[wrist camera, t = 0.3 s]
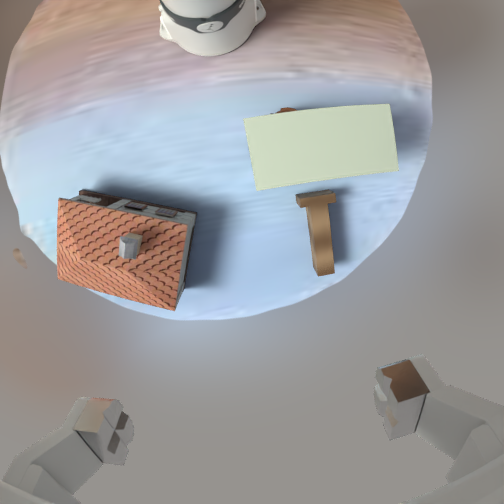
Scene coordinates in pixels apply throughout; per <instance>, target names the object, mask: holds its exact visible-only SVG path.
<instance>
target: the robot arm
mask: <svg viewBox="0 0 504 504" xmlns="http://www.w3.org/2000/svg"><path fill="white" fill-rule="evenodd" d="M160 3H161V4H160V5H159V11H160V12H161V11H162V13H161V17H160V20H161V23H160V36H161V37H162V38H163V39H165V40H169V41H173V42H175V43H177V44H178V45H179V46H181V47H182V48H183V49H185V50H186V51H188V52H190V53H192V54H196V55H200V56H217V55H222V54H225V53H228V52H230V51H232V50H234V49H236V48H238V47H239V46H240V45H242V44H243V43H244V42H245V41H246V40H247V38H248V37H249V35H250V34H251V32H252V30H253V28H254V27H255V25H257V24H258V23H260V22H261V21H262V20H263V19H264V18H265V17H266V11H265V9H264V7H263V5H262V3H261V1H260V0H160ZM257 8H259V9H258V10H257ZM376 380H377V382H378V384H377V385H376V386H375V387H374V400H375V405H376V409H377V411H378V414H379V415H381V416H382V417H384V423H383V426H384V428H385V431H386V433H387V435H388V438H389V440H393V439H396V438H399V437H403V436H406V435H408V434H412V433H415V434H416V435H417V436H419V437H420V438H422V439H423V440H425V441H426V442H428V443H429V444H431V445H432V446H434V447H435V448H437V449H439V450H440V451H442V452H443V453H445V454H446V455H448V456H449V457H451V458H453V459H454V460H455V461H454V463H453V465H452V467H451V468H450V470H449V471H448V473H447V475H446V479H447V481H448V483H449V484H447V485H444V486H442V487H440V488H438V489H436V490H433V491H431V492H429V493H426V494H424V495H421V496H418V497H416V498H413V499H411V500H408V501H405V502H403V503H400V504H504V406H502V405H500V404H497V403H494V402H491V401H489V400H487V399H484V398H481V397H479V396H476V395H474V394H471V393H469V392H466V391H464V390H462V389H459V388H456V387H454V386H451V385H449V386H446V385H445V384H444V382H443V381H442V380H441V378H440V377H439V375H438V374H437V372H436V371H435V370H434V368H433V367H432V366H431V364H430V363H429V361H428V360H427V359H426V357H425V356H424V355H422V354H420V355H418V356H415V357H411V358H408V359H405V360H402V361H399V362H395V363H392V364H389V365H385V366H382V367H378V368H377V370H376ZM122 410H123V406H122V404H121V403H120V401H119V400H116V399H104V398H103V399H102V398H88V397H80V398H78V399H77V401H76V402H75V404H74V406H73V408H72V409H71V411H70V413H69V415H68V417H67V418H66V420H65V422H64V424H63V426H62V427H61V428H57V429H55V430H54V431H53V432H51V433H50V434H48V435H47V436H45V437H44V438H42V439H41V440H39V441H38V442H36V443H35V444H33V445H32V446H30V447H29V448H27V449H25V450H24V451H23V452H21V453H19V454H18V455H16V456H15V457H14V459H13V461H12V463H11V464H10V466H9V468H8V470H7V472H6V474H5V476H4V477H3V479H2V481H1V480H0V504H81V502H80V501H78V500H77V499H76V498H75V497H74V496H72V495H73V494H74V493H75V492H76V491H77V490H78V489H79V488H80V487H81V486H82V485H83V484H84V483H85V482H86V481H87V480H88V479H89V478H90V477H91V476H92V475H93V474H94V473H95V472H96V471H97V470H98V469H99V468H100V467H101V466H102V465H103V463H106V464H114V465H124V464H125V460H126V457H127V454H128V448H127V446H126V445H128V444H129V443H130V442H131V441H132V439H133V436H134V426H133V423H132V420H131V419H130V417H129V416H128V415H127V414H125V413H124V412H123V411H122Z"/></svg>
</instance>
